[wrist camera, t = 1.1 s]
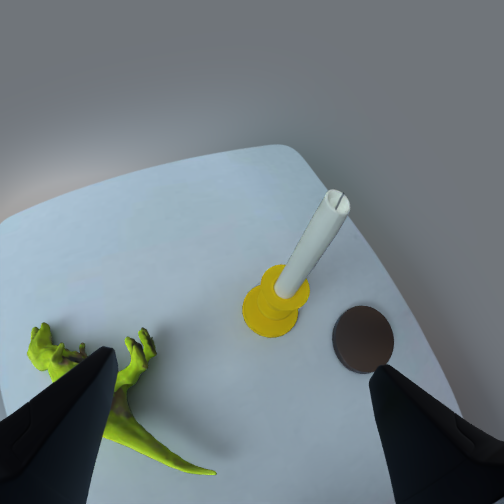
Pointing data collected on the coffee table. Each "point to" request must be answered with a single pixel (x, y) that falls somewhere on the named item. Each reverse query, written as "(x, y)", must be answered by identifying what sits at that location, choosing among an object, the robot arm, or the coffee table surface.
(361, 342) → the coaster
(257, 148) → the coffee table surface
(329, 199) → the candle
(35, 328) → the dinosaur figurine
